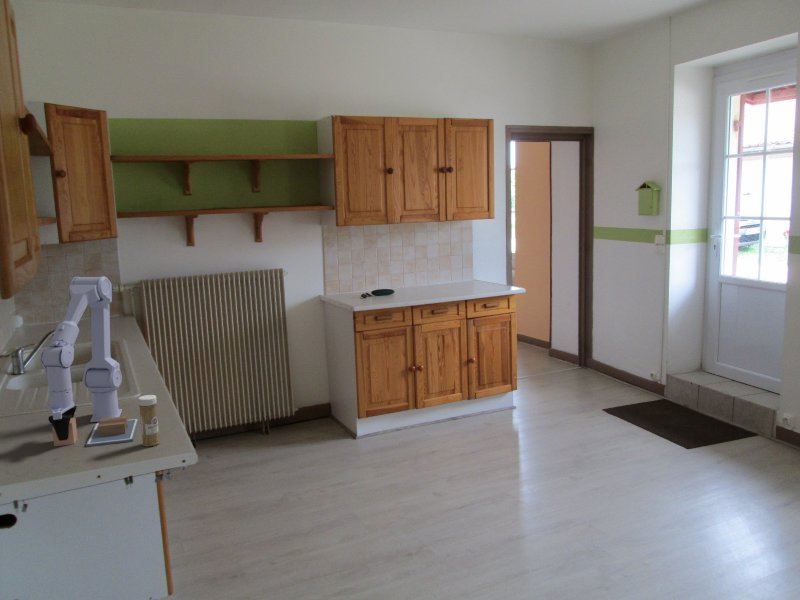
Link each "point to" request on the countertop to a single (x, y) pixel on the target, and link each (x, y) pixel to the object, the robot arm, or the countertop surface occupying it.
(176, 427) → the countertop surface
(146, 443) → the sprinkles bottle
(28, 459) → the countertop surface
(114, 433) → the walnut base block
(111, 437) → the board
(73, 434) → the terracotta block
